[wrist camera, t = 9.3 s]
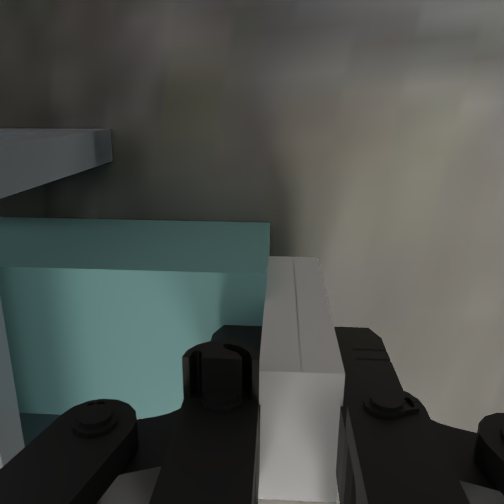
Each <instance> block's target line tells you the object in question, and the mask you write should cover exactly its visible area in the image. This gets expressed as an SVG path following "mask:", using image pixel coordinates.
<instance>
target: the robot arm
mask: <svg viewBox="0 0 504 504" xmlns="http://www.w3.org/2000/svg"><path fill="white" fill-rule="evenodd" d="M182 371H183V396H184V399H183V402H182V405H181V408H179V409H178V410H175V411H173V412H171V413H168V414H164V415H160V416H156V417H150V418H144V419H138V420H137V418H136V411H135V410H134V409H133V408H132V407H131V406H130V404H128V403H125V402H123V401H120V400H115V399H97V400H91V401H87V402H84V403H82V404H79V405H76V406H74V407H72V408H70V409H69V410H67V411H66V412H64V413H63V414H61V415H60V416H59V417H58V418H57V419H56V420H55V421H54V422H52V423H51V424H50V425H49V426H48V427H47V428H46V429H45V430H43V431H42V432H41V433H40V434H39V435H38V436H37V437H36V438H35V439H33V440H32V441H31V442H30V443H29V444H28V445H27V446H26V447H24V448H23V449H22V450H21V451H20V452H19V453H18V454H17V455H16V456H14V457H13V458H12V459H11V460H10V461H9V462H8V463H7V464H5V465H4V466H3V467H2V468H1V469H0V504H258V499H271V500H290V501H310V502H329V503H336V495H337V485H338V492H339V499H340V504H504V413H495V414H492V415H488V416H485V417H484V418H483V419H482V420H481V422H480V423H479V426H478V432H477V433H474V432H470V431H466V430H462V429H457V428H453V427H450V426H446V425H443V424H440V423H437V422H435V421H433V420H431V419H430V417H429V415H428V413H427V411H426V408H425V407H424V406H423V405H422V403H421V402H420V401H419V400H418V399H417V398H415V397H414V396H412V395H411V394H409V393H408V392H405V391H403V389H402V386H401V384H400V382H399V379H398V377H397V375H396V372H395V370H394V368H393V365H392V363H391V362H390V358H389V356H388V353H387V352H386V349H385V346H384V344H383V342H382V339H381V338H380V337H379V336H378V335H376V334H375V333H374V332H373V331H371V330H370V329H369V328H355V327H334V324H333V320H332V316H331V311H330V307H329V303H328V299H327V294H326V290H325V286H324V282H323V277H322V273H321V269H320V264H319V260H318V257H282V256H269V260H268V272H267V284H266V297H265V303H264V314H263V325H262V326H244V325H223V326H222V327H221V328H220V329H218V330H217V331H216V332H215V333H213V335H212V338H211V341H209V342H205V343H201V344H197V345H196V346H194V347H192V348H190V349H188V350H187V351H186V352H185V354H184V355H183V356H182Z"/></svg>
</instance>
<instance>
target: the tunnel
mask: <svg viewBox="0 0 504 504" xmlns="http://www.w3.org/2000/svg"><path fill="white" fill-rule="evenodd" d="M112 161H113V155H112V143H111V130H110V129H34V128H0V199H1V198H4V197H7V196H10V195H13V194H16V193H19V192H22V191H25V190H28V189H31V188H34V187H37V186H40V185H43V184H46V183H49V182H52V181H55V180H58V179H61V178H64V177H67V176H70V175H73V174H76V173H79V172H82V171H85V170H88V169H91V168H94V167H97V166H100V165H103V164H106V163H109V162H112ZM59 416H60V415H58V414H35V413H19V409H18V403H17V397H16V390H15V384H14V378H13V372H12V365H11V359H10V353H9V347H8V341H7V334H6V328H5V322H4V316H3V310H2V303H1V297H0V469H1V468H2V467H3V466H4V465H5V464H7V463H8V462H9V461H10V460H11V459H12V458H13V457H14V456H16V455H17V454H18V453H19V452H20V451H21V450H22V449H23V448H24V447H26V446H27V445H28V444H29V443H30V442H31V441H32V440H33V439H35V438H36V437H37V436H38V435H39V434H40V433H41V432H42V431H43V430H45V429H46V428H47V427H48V426H49V425H50V424H51V423H52V422H54V421H55V420H56V419H57V418H58V417H59Z"/></svg>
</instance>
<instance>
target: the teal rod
mask: <svg viewBox="0 0 504 504" xmlns="http://www.w3.org/2000/svg"><path fill="white" fill-rule="evenodd" d="M269 256H270V223H264V222H217V221H169V220H122V219H75V218H27V217H0V297H1V303H2V310H3V316H4V322H5V328H6V334H7V341H8V347H9V353H10V359H11V365H12V372H13V378H14V384H15V390H16V397H17V403H18V409H19V413H35V414H58V415H61V414H63V413H64V412H66V411H67V410H69V409H70V408H72V407H74V406H76V405H79V404H82V403H84V402H87V401H91V400H97V399H115V400H120V401H123V402H125V403H128V404H130V406H131V407H132V408H133V409H134V410H135V411H136V418H150V417H156V416H160V415H164V414H168V413H171V412H173V411H175V410H178V409H179V408H181V405H182V402H183V399H184V396H183V371H182V356H183V355H184V354H185V352H186V351H187V350H188V349H190V348H192V347H194V346H196V345H197V344H201V343H205V342H209V341H211V338H212V335H213V333H215V332H216V331H217V330H218V329H220V328H221V327H222V326H223V325H244V326H262V325H263V314H264V303H265V297H266V284H267V272H268V260H269Z"/></svg>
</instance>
